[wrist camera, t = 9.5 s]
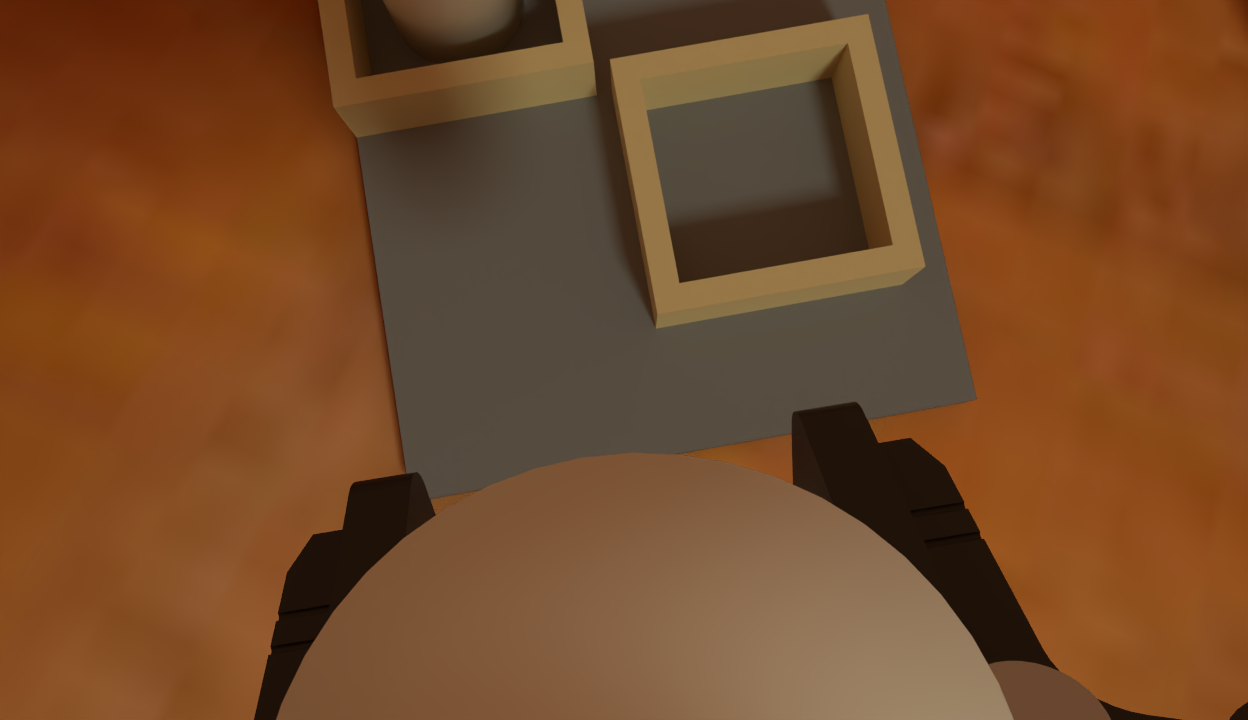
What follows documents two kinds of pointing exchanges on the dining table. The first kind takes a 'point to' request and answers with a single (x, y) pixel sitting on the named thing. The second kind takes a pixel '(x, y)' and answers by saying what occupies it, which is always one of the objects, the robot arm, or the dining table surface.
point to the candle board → (639, 224)
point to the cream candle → (644, 609)
